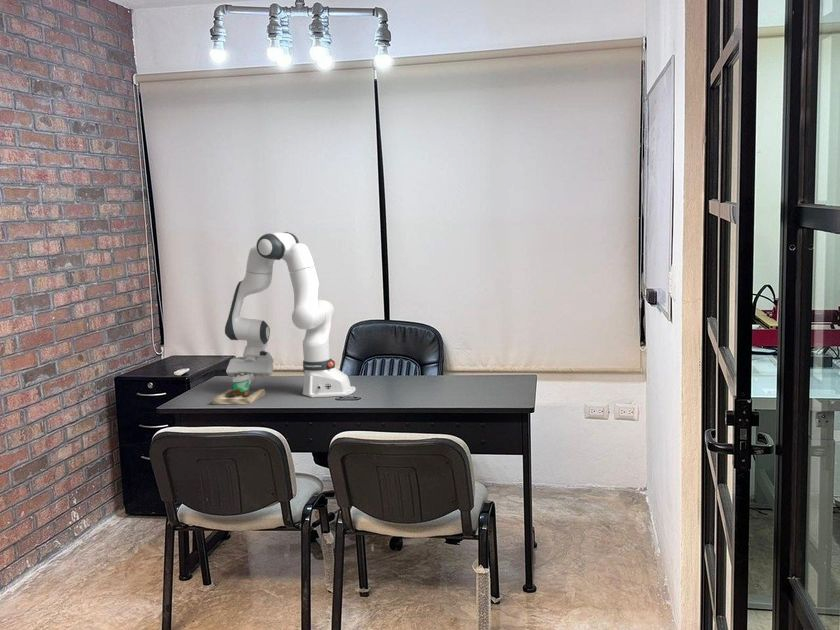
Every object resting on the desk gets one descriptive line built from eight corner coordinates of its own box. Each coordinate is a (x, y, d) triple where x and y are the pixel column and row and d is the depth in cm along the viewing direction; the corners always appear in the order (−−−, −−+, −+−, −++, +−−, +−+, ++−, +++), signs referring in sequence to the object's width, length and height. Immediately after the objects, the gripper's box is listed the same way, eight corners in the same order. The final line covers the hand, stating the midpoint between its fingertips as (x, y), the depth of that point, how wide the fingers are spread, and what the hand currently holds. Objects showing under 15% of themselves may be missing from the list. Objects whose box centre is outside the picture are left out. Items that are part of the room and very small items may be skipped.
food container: (249, 400, 339) (247, 376, 337) (234, 401, 339) (232, 377, 337) (254, 393, 351) (252, 370, 350) (240, 394, 351) (238, 371, 349)
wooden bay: (265, 394, 347) (264, 389, 347) (249, 404, 331) (248, 398, 330) (229, 395, 350) (229, 389, 350) (212, 404, 334) (212, 398, 333)
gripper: (228, 353, 356) (220, 380, 347) (272, 352, 351) (265, 379, 343) (233, 361, 360) (225, 388, 352) (277, 360, 356) (270, 387, 348)
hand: (245, 384), depth 348 cm, fingers closed
